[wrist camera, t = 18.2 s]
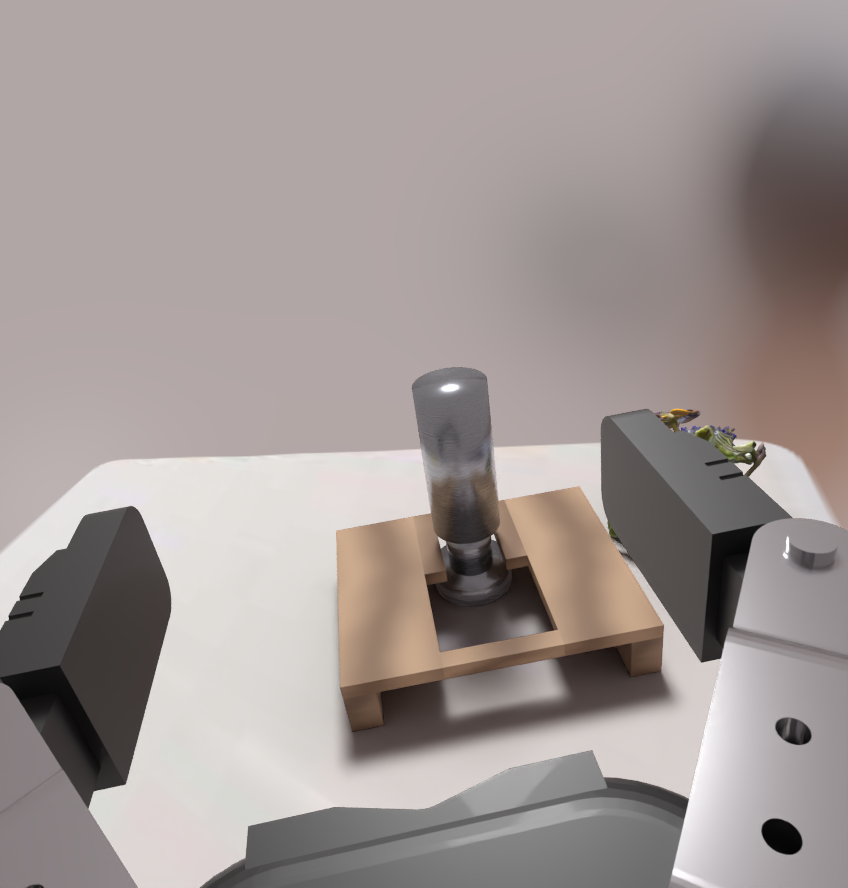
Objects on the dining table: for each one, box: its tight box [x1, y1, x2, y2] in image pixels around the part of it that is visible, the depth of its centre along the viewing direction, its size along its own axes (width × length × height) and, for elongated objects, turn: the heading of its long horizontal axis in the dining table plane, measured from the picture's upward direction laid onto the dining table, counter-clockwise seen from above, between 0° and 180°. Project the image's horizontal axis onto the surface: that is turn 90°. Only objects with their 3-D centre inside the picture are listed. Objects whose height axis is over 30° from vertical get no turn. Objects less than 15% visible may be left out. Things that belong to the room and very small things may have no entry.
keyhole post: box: [412, 367, 512, 606], centre depth 50 cm, size 6×6×17 cm
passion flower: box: [608, 409, 766, 538], centre depth 55 cm, size 11×11×12 cm
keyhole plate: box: [336, 486, 664, 732], centre depth 49 cm, size 20×16×4 cm
